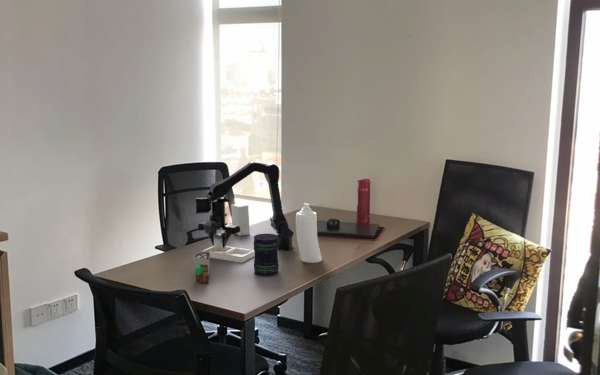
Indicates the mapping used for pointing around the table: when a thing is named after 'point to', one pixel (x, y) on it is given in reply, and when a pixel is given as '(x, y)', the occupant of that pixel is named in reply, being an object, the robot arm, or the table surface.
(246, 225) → the skincare box
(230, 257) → the sorting tray
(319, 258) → the white plastic bottle
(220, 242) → the grey mushroom
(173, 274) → the table surface
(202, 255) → the food container
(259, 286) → the table surface
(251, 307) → the table surface
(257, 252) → the storage jar
